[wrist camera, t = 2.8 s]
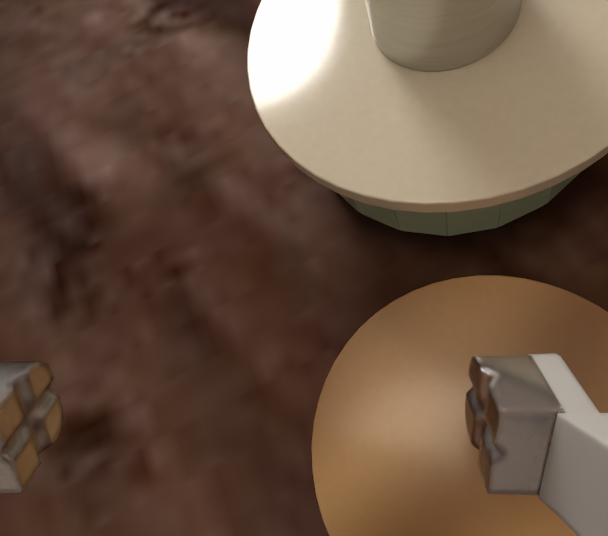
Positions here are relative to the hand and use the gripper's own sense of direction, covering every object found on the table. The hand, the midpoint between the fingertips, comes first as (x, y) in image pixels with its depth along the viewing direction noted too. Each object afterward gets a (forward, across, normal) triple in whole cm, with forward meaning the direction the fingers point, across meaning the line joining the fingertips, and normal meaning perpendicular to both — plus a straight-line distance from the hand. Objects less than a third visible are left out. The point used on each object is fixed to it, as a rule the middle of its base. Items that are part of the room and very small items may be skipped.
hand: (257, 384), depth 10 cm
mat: (+8, -8, +10) cm, 15 cm away
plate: (+16, -6, -6) cm, 18 cm away
